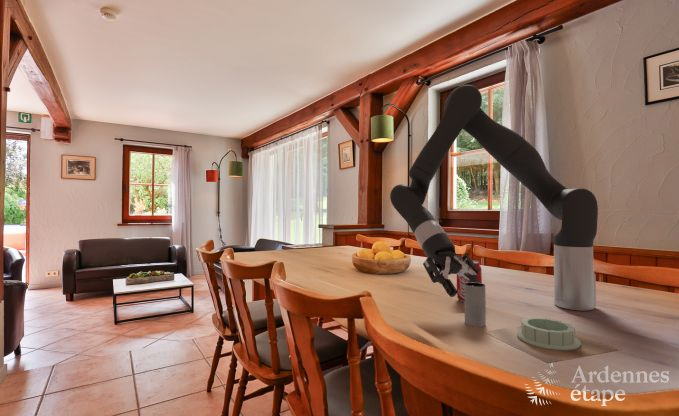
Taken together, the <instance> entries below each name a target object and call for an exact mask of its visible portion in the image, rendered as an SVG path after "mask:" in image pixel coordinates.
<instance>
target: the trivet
mask: <svg viewBox="0 0 679 416" xmlns="http://www.w3.org/2000/svg"><path fill="white" fill-rule="evenodd" d="M519 329H521V325H520V326H513V327H506V328H499V329H491V330H484V331H482V332H483V333H485V334H486V335H489V336H492V337H493V338H495V339H496V340H499V341H502V342H503V343H505V344H507V345H509V346H511V347H513V348H515V349H517V350H519V351H522V352H524V353H526V354H528V355H529V356H531V357H534V358H536V359H538V360H540V361H543V362H545V363H547V364H550V363H556V362H562V361H567V360H573V359H578V358H584V357H590V356H595V355H600V354H606V353H611V352H616V351H621V350H622V349H621V348H618V347H615V346H613V345H610V344H607V343H604V342H601V341H599V340H596V339H593V338H591V337H588V336H585V335H583V334H579V333H577V332H575V337H576V338H577V339H579V340H580V343H581V346H580V348H579V349H577V350H573V351H555V350H548V349H543V348H539V347H535V346H532V345H529V344H527V343H524V342H523V341H521V340H520V339H519V338H518V337H517V331H518V330H519Z"/></svg>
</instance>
